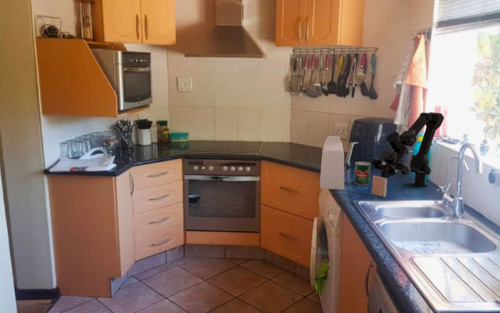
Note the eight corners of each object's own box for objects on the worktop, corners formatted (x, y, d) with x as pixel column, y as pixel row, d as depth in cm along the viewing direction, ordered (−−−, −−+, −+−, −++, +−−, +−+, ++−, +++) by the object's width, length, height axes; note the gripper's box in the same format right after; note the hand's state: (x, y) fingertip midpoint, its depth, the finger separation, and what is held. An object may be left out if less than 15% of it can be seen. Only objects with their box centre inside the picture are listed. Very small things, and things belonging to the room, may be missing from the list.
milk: (320, 188, 227) (322, 138, 222) (319, 182, 238) (321, 134, 233) (344, 189, 226) (346, 138, 220) (342, 183, 237) (345, 135, 231)
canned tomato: (358, 185, 233) (359, 165, 230) (351, 181, 240) (352, 162, 238) (372, 184, 235) (373, 164, 233) (364, 180, 242) (365, 161, 240)
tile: (373, 193, 219) (375, 175, 217) (385, 196, 213) (386, 178, 212) (371, 193, 218) (373, 176, 216) (383, 197, 213) (384, 178, 211)
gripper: (374, 142, 222) (358, 166, 218) (407, 147, 207) (390, 173, 203) (383, 155, 228) (368, 179, 224) (416, 162, 213) (400, 188, 209)
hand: (381, 180), depth 215 cm, fingers closed
